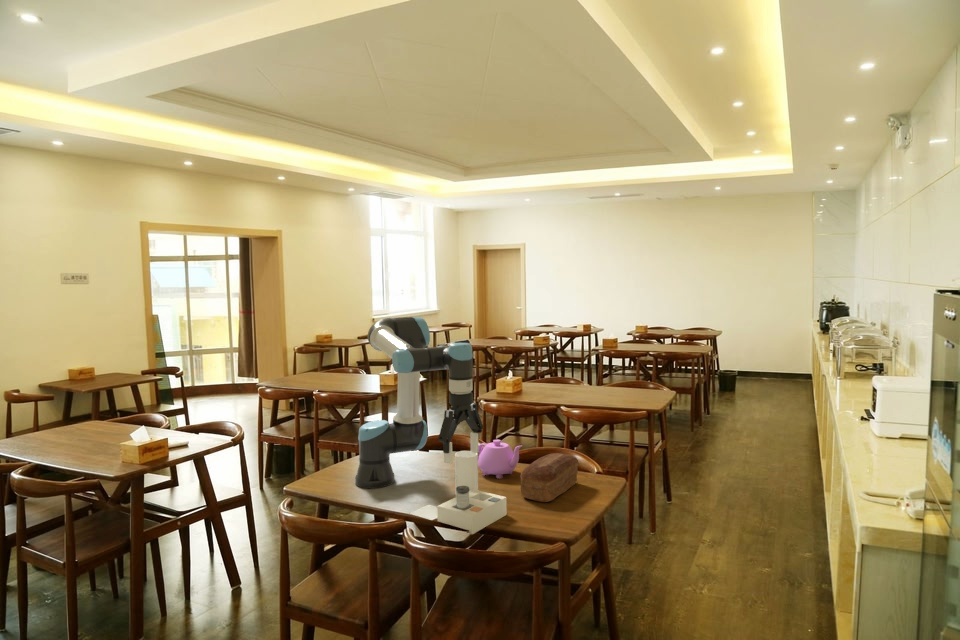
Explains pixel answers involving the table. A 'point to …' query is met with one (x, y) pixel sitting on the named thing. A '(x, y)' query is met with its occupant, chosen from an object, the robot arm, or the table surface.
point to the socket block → (473, 511)
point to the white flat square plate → (426, 512)
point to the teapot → (497, 458)
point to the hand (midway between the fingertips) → (461, 457)
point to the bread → (549, 477)
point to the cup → (466, 470)
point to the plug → (462, 497)
